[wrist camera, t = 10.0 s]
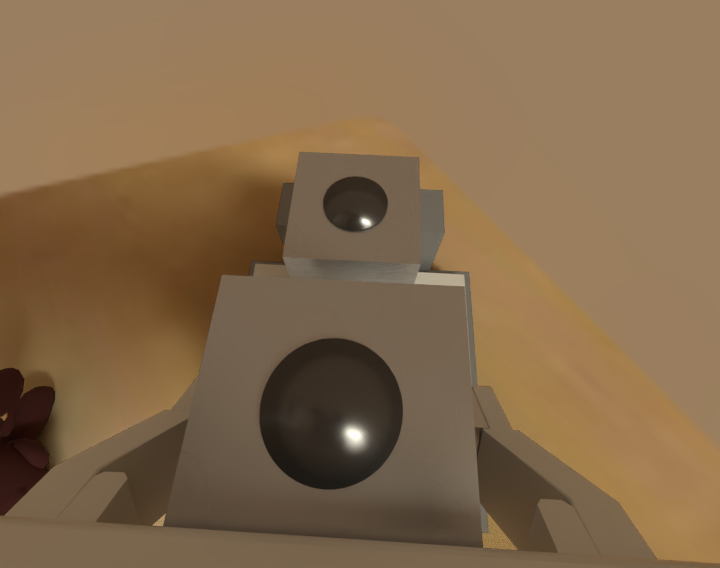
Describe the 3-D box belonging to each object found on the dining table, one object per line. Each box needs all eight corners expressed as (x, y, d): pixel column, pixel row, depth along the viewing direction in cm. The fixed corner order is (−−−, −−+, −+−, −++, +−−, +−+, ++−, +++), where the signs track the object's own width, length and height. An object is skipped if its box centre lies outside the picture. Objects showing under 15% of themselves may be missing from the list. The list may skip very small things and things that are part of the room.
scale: (219, 506, 20) (154, 533, 14) (268, 237, 27) (241, 172, 21) (473, 522, 20) (527, 559, 13) (456, 246, 27) (486, 184, 21)
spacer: (289, 491, 14) (148, 575, 5) (303, 375, 16) (219, 272, 7) (404, 498, 14) (489, 599, 5) (404, 380, 16) (466, 284, 6)
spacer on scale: (315, 340, 21) (281, 255, 11) (323, 271, 22) (299, 149, 13) (393, 344, 21) (421, 262, 11) (394, 275, 22) (419, 155, 13)
